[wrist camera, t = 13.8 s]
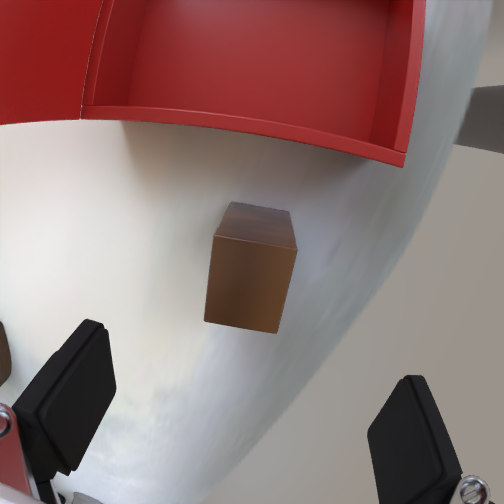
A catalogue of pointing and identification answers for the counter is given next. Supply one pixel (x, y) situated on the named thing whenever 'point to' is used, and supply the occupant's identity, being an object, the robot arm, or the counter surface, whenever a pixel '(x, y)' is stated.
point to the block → (250, 268)
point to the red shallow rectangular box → (263, 69)
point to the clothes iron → (4, 357)
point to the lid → (44, 58)
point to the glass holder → (84, 499)
